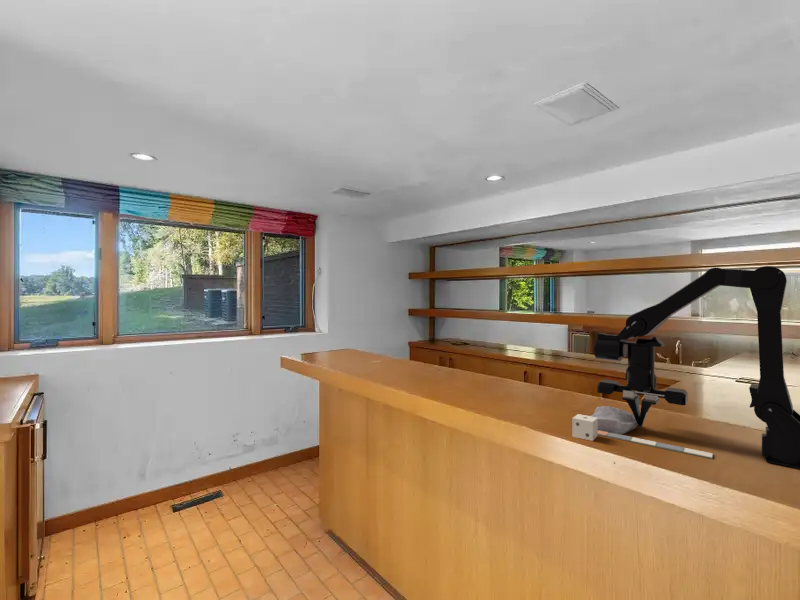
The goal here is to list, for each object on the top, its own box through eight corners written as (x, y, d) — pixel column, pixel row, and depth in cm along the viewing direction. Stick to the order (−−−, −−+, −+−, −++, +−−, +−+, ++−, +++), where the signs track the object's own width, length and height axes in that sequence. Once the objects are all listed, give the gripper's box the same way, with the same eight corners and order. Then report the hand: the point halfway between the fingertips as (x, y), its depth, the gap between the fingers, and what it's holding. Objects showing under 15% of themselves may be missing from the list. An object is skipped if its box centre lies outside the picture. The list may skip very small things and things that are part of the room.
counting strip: (713, 454, 84) (713, 453, 84) (712, 458, 82) (712, 457, 82) (587, 429, 101) (587, 427, 101) (583, 431, 98) (583, 430, 98)
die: (597, 436, 96) (597, 417, 96) (592, 441, 92) (592, 421, 92) (577, 432, 98) (577, 413, 98) (571, 436, 95) (572, 417, 95)
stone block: (635, 431, 105) (594, 417, 111) (640, 414, 104) (598, 401, 110) (631, 446, 95) (587, 430, 101) (636, 427, 95) (591, 412, 100)
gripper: (690, 363, 99) (689, 426, 99) (607, 356, 111) (607, 412, 111) (685, 369, 91) (684, 437, 91) (597, 360, 103) (596, 421, 103)
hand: (640, 425), depth 99 cm, fingers closed
